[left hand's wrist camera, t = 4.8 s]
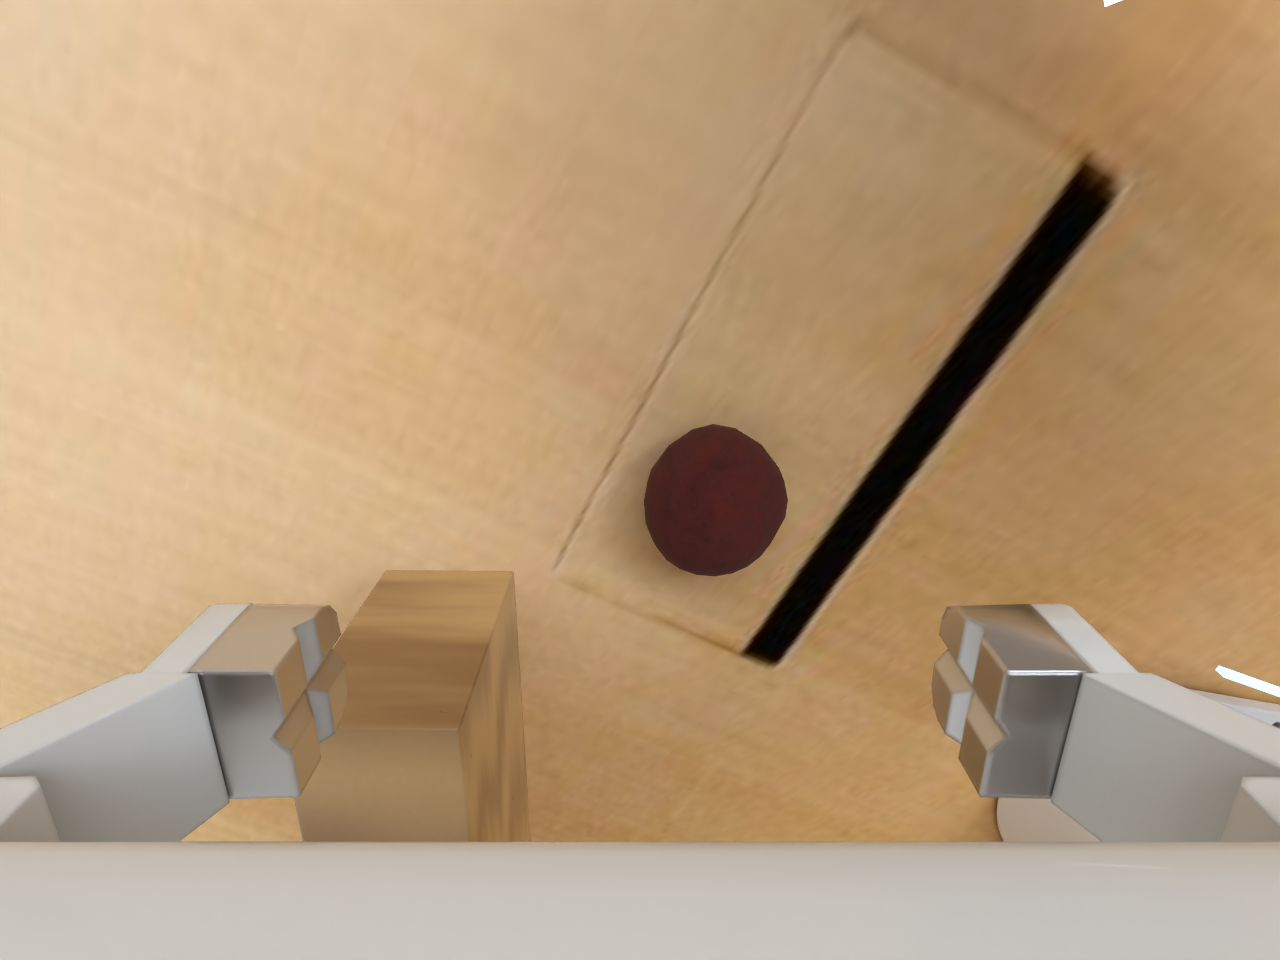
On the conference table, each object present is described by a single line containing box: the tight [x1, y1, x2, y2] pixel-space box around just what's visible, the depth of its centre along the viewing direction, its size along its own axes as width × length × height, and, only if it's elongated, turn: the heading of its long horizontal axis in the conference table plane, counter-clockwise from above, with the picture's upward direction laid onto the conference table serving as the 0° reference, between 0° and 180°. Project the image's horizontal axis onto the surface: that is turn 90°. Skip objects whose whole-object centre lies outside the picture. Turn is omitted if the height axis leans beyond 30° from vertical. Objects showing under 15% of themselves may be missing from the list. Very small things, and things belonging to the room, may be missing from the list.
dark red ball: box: [644, 424, 788, 576], centre depth 40 cm, size 7×8×7 cm
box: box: [294, 570, 530, 842], centre depth 35 cm, size 25×6×11 cm, turn 0°
